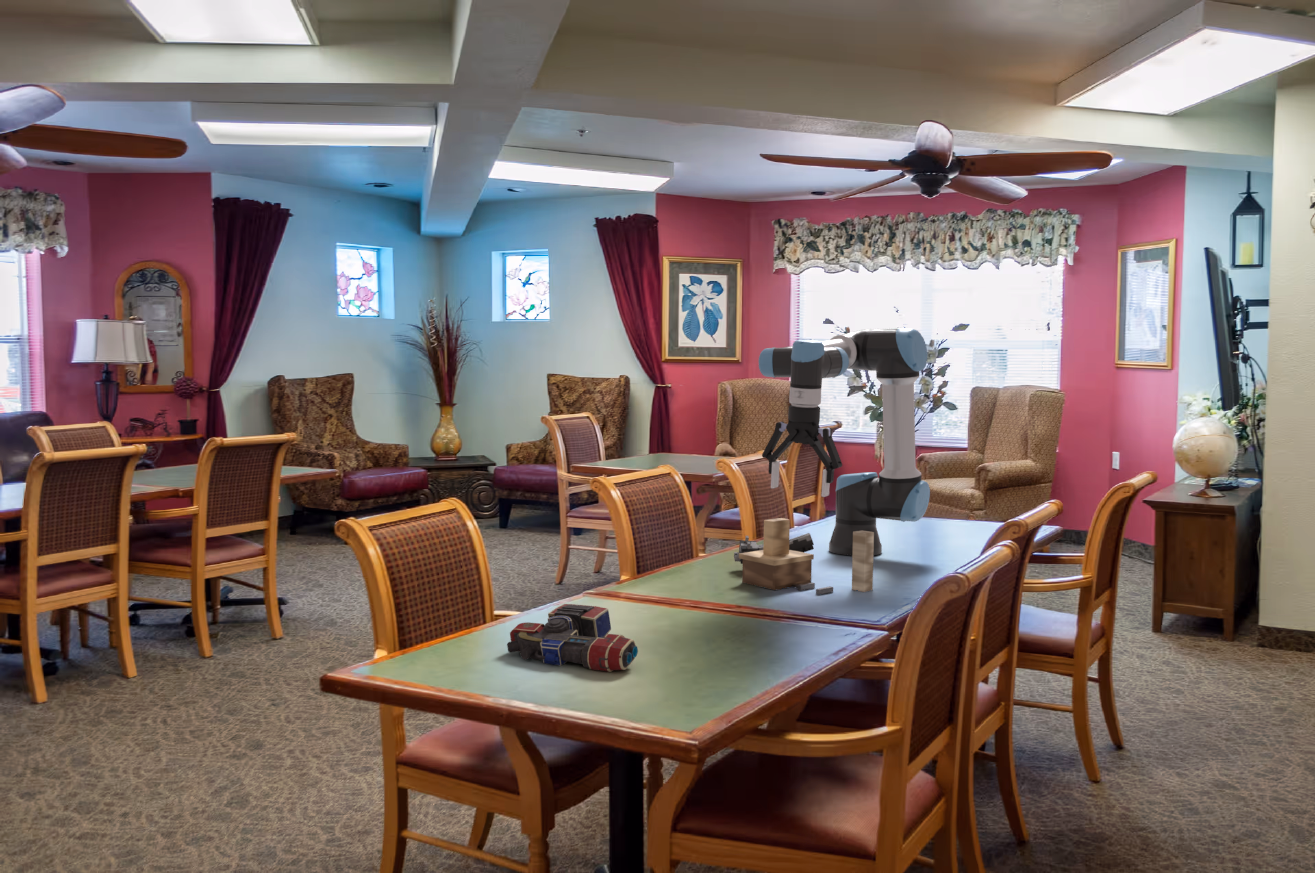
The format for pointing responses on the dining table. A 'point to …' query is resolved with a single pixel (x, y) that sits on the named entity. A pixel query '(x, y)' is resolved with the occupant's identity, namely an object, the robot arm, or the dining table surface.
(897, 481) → the robot arm
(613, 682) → the dining table surface
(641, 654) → the dining table surface
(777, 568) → the open wooden box
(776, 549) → the lid
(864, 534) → the tan block
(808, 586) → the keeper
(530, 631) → the multicoloured piece
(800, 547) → the toy
